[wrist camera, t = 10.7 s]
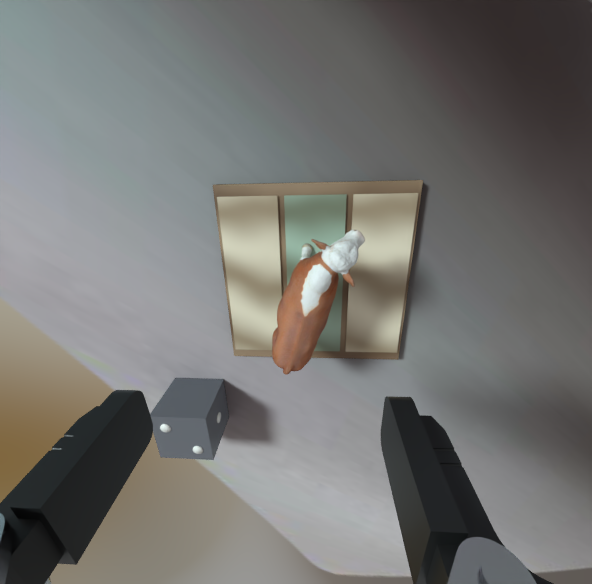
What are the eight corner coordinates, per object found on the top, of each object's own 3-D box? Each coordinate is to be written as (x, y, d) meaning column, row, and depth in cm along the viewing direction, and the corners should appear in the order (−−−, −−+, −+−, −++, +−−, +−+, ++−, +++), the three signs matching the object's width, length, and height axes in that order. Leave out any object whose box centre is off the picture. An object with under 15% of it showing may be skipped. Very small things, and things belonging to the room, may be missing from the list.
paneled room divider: (215, 184, 26) (211, 184, 25) (419, 180, 25) (423, 180, 24) (236, 351, 33) (233, 356, 32) (396, 355, 31) (398, 360, 31)
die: (175, 377, 35) (148, 417, 29) (224, 379, 34) (206, 419, 29) (183, 415, 37) (160, 458, 32) (229, 417, 37) (214, 461, 31)
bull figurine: (362, 223, 25) (382, 245, 18) (304, 341, 30) (300, 397, 23) (317, 204, 25) (317, 218, 17) (266, 327, 30) (249, 378, 23)
